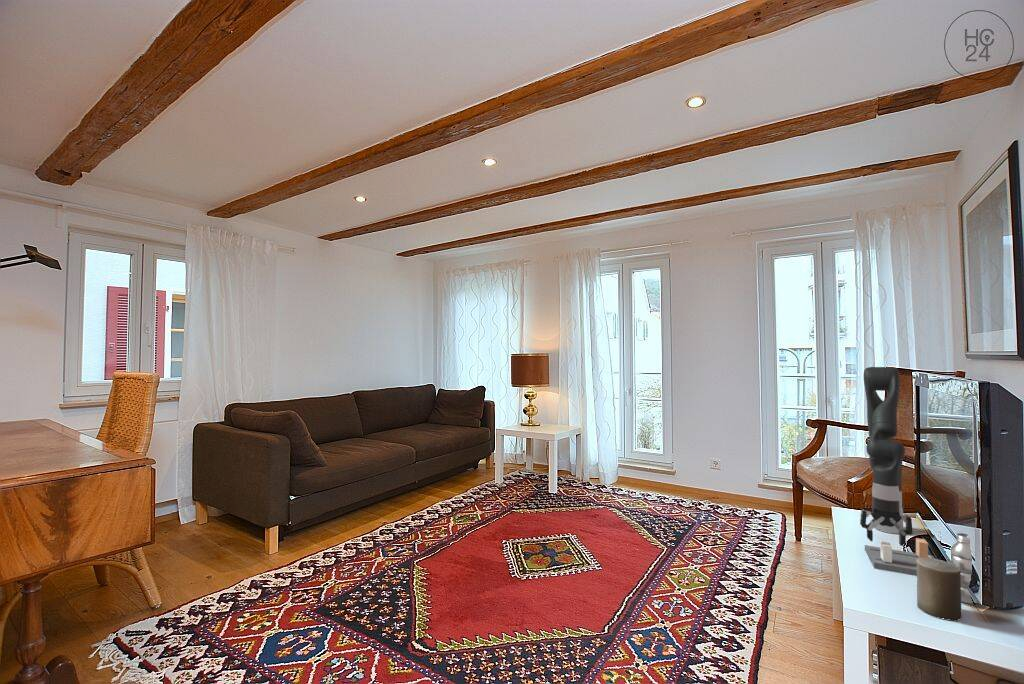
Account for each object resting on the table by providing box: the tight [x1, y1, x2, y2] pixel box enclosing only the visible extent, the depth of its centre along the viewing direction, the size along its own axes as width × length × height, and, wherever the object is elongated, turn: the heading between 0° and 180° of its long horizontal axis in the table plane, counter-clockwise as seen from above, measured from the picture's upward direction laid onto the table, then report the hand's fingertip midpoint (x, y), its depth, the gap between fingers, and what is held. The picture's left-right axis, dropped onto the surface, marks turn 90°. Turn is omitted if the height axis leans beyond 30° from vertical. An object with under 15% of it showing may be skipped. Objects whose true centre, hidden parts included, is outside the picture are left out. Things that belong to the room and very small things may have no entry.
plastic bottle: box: [950, 532, 974, 605], centre depth 142 cm, size 6×7×20 cm
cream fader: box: [879, 540, 893, 563], centre depth 164 cm, size 2×4×6 cm, turn 153°
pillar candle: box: [916, 558, 962, 621], centre depth 137 cm, size 10×10×15 cm
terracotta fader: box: [915, 537, 929, 558], centre depth 167 cm, size 2×4×6 cm, turn 152°
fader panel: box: [864, 544, 936, 577], centre depth 166 cm, size 20×16×2 cm
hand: (885, 542), depth 164 cm, fingers open, 8 cm apart
